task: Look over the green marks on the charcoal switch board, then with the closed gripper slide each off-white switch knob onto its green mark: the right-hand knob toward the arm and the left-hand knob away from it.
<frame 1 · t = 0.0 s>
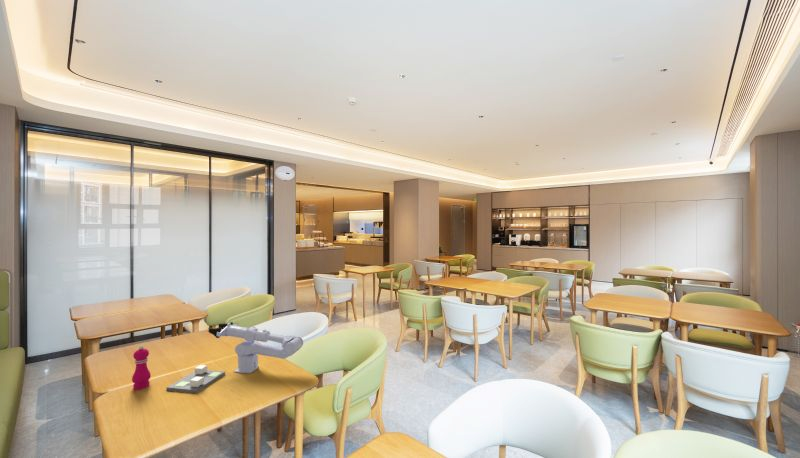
hand: (214, 328, 185), 22 cm above the table, tool horizontal, fingers open, 7 cm apart
switch board: (197, 381, 168), on the table
pepper mill: (141, 387, 163), on the table
right knob: (201, 369, 175), point 3 cm above the table, slide at 8.0 cm
left knob: (196, 381, 162), point 3 cm above the table, slide at 0.0 cm
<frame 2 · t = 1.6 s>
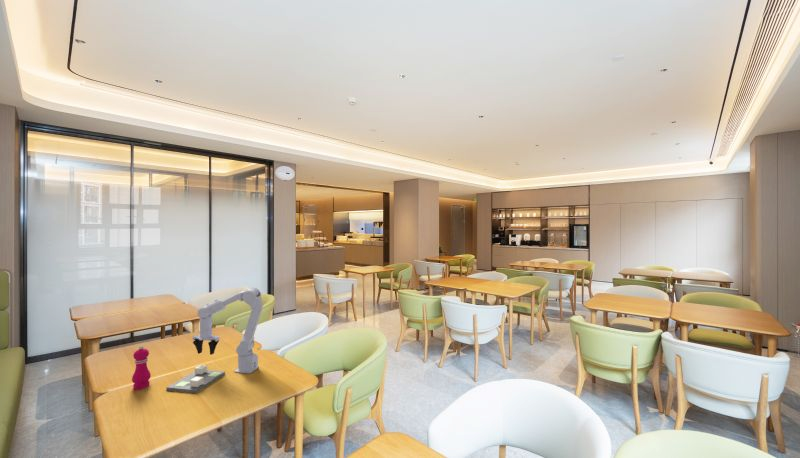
hand: (206, 353, 181), 9 cm above the table, tool pointing down, fingers open, 7 cm apart
nothing on the table moved.
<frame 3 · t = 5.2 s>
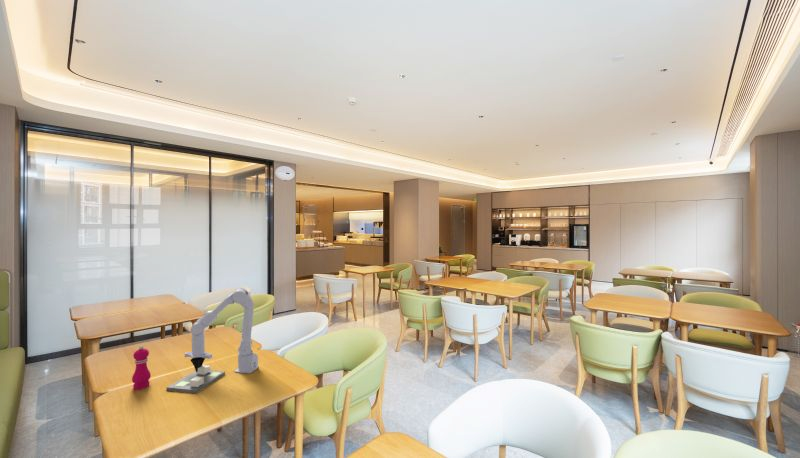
hand: (198, 371, 175), 2 cm above the table, tool pointing down, fingers closed
right knob: (203, 369, 174), point 3 cm above the table, slide at 6.2 cm, touching gripper
everything else where it was.
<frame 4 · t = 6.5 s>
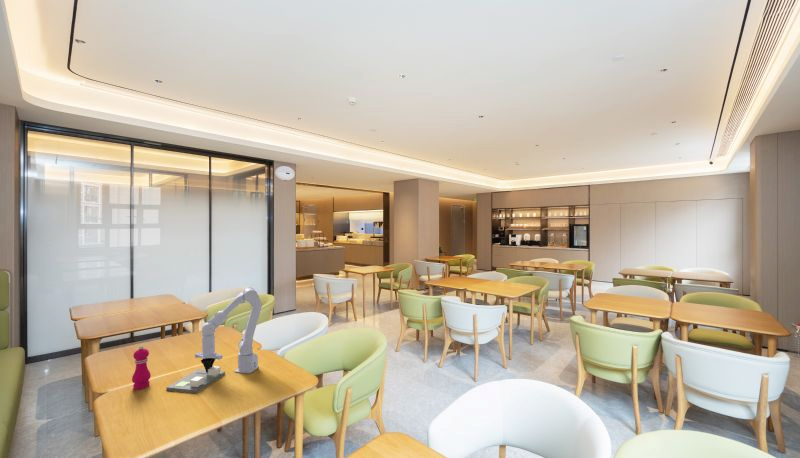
hand: (208, 372, 174), 3 cm above the table, tool pointing down, fingers closed
right knob: (214, 370, 173), point 3 cm above the table, slide at 0.2 cm, touching gripper
everything else where it was.
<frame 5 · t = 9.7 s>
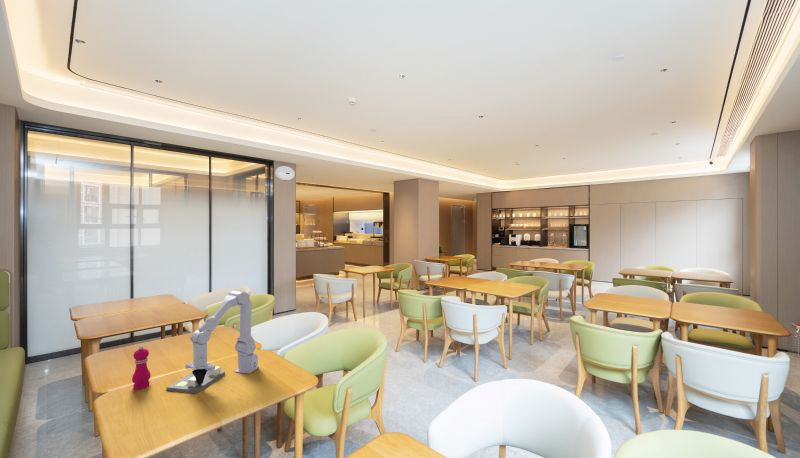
hand: (200, 383, 161), 3 cm above the table, tool pointing down, fingers closed
right knob: (214, 370, 173), point 3 cm above the table, slide at 0.1 cm
left knob: (194, 381, 162), point 3 cm above the table, slide at 1.5 cm, touching gripper
everything else where it was.
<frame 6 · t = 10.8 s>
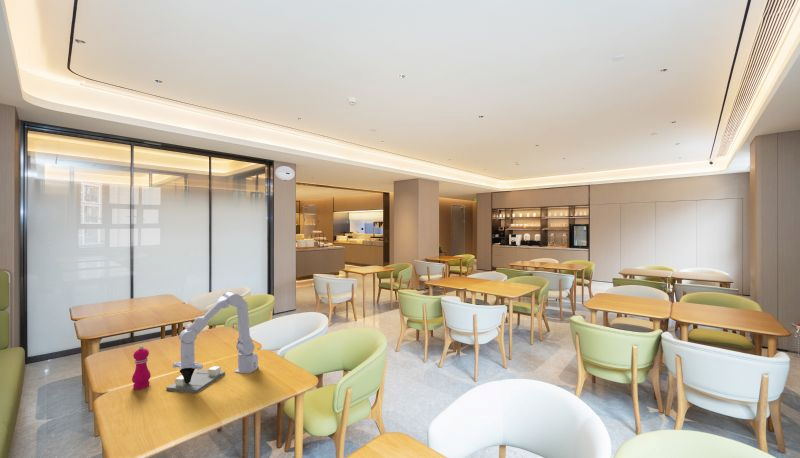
hand: (187, 382, 162), 3 cm above the table, tool pointing down, fingers closed
left knob: (182, 380, 163), point 3 cm above the table, slide at 8.1 cm, touching gripper
everything else where it was.
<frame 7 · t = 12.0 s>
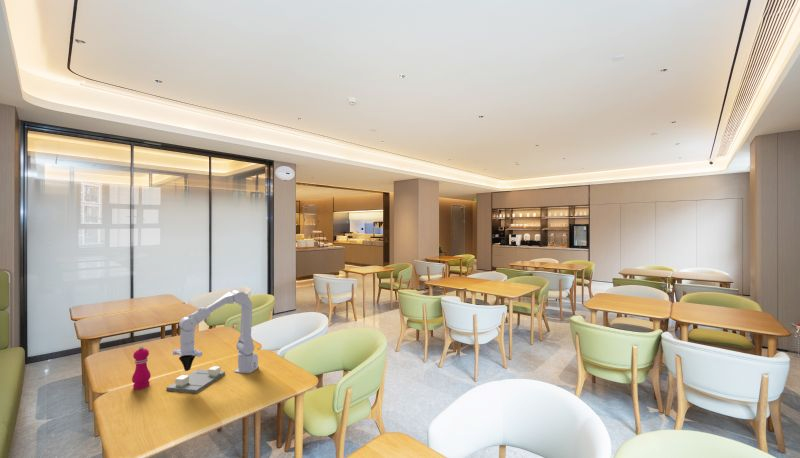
hand: (187, 370, 163), 8 cm above the table, tool pointing down, fingers closed
left knob: (182, 380, 163), point 3 cm above the table, slide at 8.1 cm
everything else where it was.
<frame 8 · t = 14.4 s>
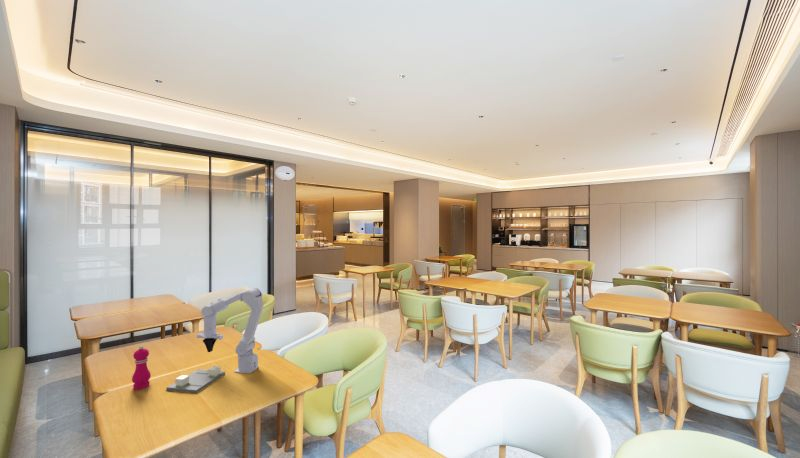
hand: (210, 351, 184), 9 cm above the table, tool pointing down, fingers closed
nothing on the table moved.
at the end: right knob slide at 0.1 cm; left knob slide at 8.1 cm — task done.
